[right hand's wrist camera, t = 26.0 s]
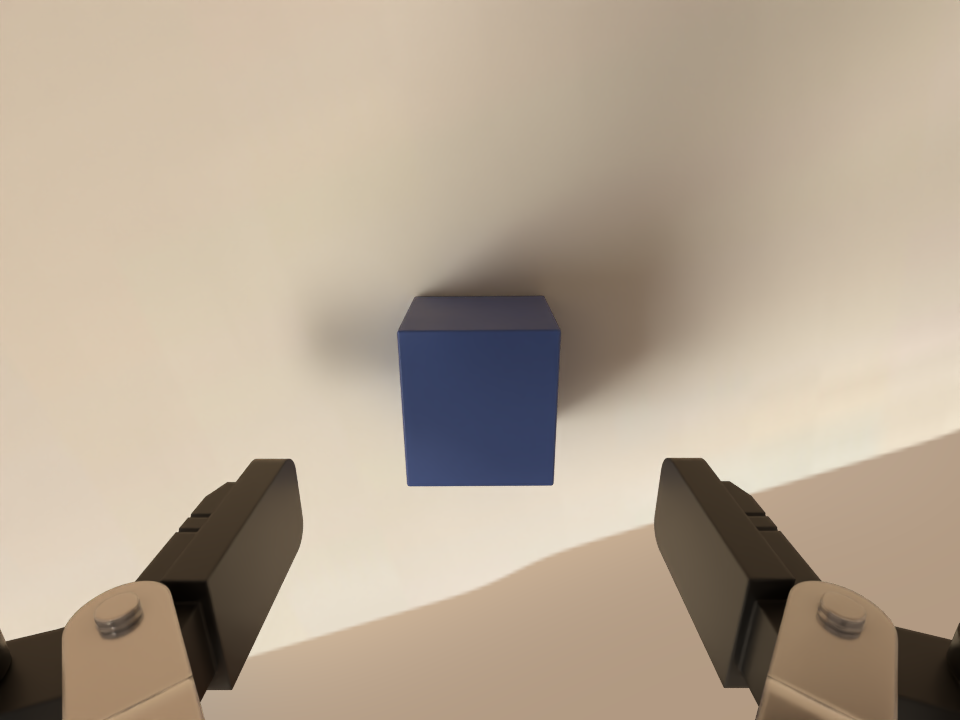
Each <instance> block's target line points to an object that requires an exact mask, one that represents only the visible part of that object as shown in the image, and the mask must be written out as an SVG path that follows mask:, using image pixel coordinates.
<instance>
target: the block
mask: <svg viewBox="0 0 960 720" xmlns="http://www.w3.org/2000/svg"><path fill="white" fill-rule="evenodd" d="M397 338H398V353H399V368H400V384H401V399H402V414H403V429H404V444H405V459H406V474H407V485H408V486H542V485H553V483H554V463H555V443H556V423H557V403H558V383H559V362H560V342H561V330H560V328H559V326H558V324H557V322H556V320H555V318H554V316H553V314H552V312H551V310H550V308H549V306H548V304H547V301H546V299H545V297H544V296H457V297H415V298H414V300H413V302H412V304H411V306H410V308H409V310H408V312H407V314H406V316H405V318H404V320H403V322H402V324H401V326H400V328H399V330H398V332H397Z"/></svg>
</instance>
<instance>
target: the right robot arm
mask: <svg viewBox="0 0 960 720" xmlns="http://www.w3.org/2000/svg"><path fill="white" fill-rule="evenodd" d="M654 529H655V537H656V541H657V545H658V548H659V550H660V552H661V554H662V556H663V558H664V561H665V563H666V565H667V567H668V569H669V571H670V573H671V576H672V578H673V580H674V582H675V584H676V586H677V588H678V590H679V593H680V595H681V597H682V599H683V601H684V603H685V605H686V607H687V610H688V612H689V614H690V616H691V618H692V620H693V622H694V625H695V627H696V629H697V631H698V633H699V635H700V638H701V640H702V642H703V644H704V646H705V648H706V650H707V652H708V655H709V657H710V659H711V661H712V663H713V665H714V667H715V670H716V672H717V674H718V676H719V678H720V680H721V682H722V684H723V687H724V688H749V689H750V691H751V692H752V694H753V696H754V698H755V700H756V702H757V704H758V706H759V708H758V711H757V715H756V719H755V720H960V623H959V625H958V627H957V630H956V632H955V635H954V637H953V639H952V640H950V639H945V638H941V637H937V636H933V635H929V634H924V633H920V632H916V631H911V630H907V629H903V628H899V627H895V626H894V625H893V623H892V621H891V620H890V619H889V617H888V616H887V615H886V614H885V613H884V612H883V611H882V610H881V609H880V608H879V607H878V606H876V605H875V604H874V603H872V602H871V601H870V600H868V599H866V598H865V597H863V596H862V595H860V594H858V593H856V592H854V591H852V590H850V589H847V588H845V587H842V586H839V585H836V584H832V583H828V582H822V581H821V580H820V579H819V577H818V576H817V575H816V574H815V573H814V571H813V570H812V569H811V568H810V567H809V565H808V564H807V563H806V562H805V560H804V559H803V558H802V557H801V556H800V554H799V553H798V552H797V551H796V550H795V548H794V547H793V546H792V545H791V543H790V542H789V541H788V540H787V539H786V537H785V536H784V535H783V534H782V533H781V531H778V530H777V527H776V525H775V524H774V523H773V522H772V520H771V519H770V518H769V517H768V516H766V515H765V512H764V511H763V509H762V508H761V507H760V506H759V505H758V503H757V502H756V501H755V500H754V499H753V497H752V496H751V495H749V494H748V493H746V492H745V491H743V490H742V489H740V488H739V487H737V486H736V485H734V484H733V483H731V482H730V481H720V479H719V478H718V477H717V475H716V474H715V473H714V472H713V470H712V469H711V468H710V466H709V465H708V464H707V462H706V461H705V460H704V459H702V458H666V459H665V460H664V462H663V464H662V468H661V475H660V482H659V489H658V496H657V503H656V510H655V518H654ZM302 533H303V516H302V509H301V502H300V495H299V488H298V481H297V474H296V468H295V464H294V462H293V461H292V460H291V459H254V460H253V461H252V462H251V463H250V464H249V466H248V467H247V468H246V470H245V471H244V472H243V474H242V475H241V476H240V477H239V479H238V480H237V481H236V482H227V483H226V484H224V485H223V486H221V487H220V488H218V489H217V490H215V491H214V492H212V493H211V494H209V495H208V496H206V497H205V498H204V499H203V500H202V502H201V503H200V504H199V505H198V506H197V508H196V509H195V510H194V511H193V512H192V514H191V518H187V520H186V521H185V522H184V523H183V524H182V526H181V527H180V528H179V532H176V533H175V534H174V535H173V536H172V538H171V539H170V540H169V541H168V542H167V544H166V545H165V546H164V547H163V548H162V550H161V551H160V552H159V553H158V555H157V556H156V557H155V558H154V559H153V561H152V562H151V563H150V564H149V565H148V567H147V568H146V569H145V570H144V571H143V573H142V574H141V575H140V576H139V577H138V579H137V580H136V581H135V582H132V583H128V584H124V585H121V586H118V587H115V588H113V589H110V590H108V591H106V592H104V593H102V594H100V595H98V596H97V597H95V598H94V599H92V600H90V601H89V602H88V603H86V604H85V605H84V606H82V607H81V608H80V609H79V610H78V611H77V612H76V613H75V614H74V615H73V616H72V617H71V619H70V620H69V621H68V623H67V624H66V626H65V627H64V628H60V629H56V630H52V631H48V632H44V633H39V634H35V635H31V636H27V637H23V638H18V639H14V640H10V641H6V642H5V639H4V637H3V635H2V632H1V630H0V720H205V719H204V715H203V711H202V708H201V704H200V702H201V700H202V698H203V696H204V694H205V692H206V690H232V689H233V687H234V685H235V682H236V680H237V678H238V676H239V674H240V672H241V670H242V668H243V666H244V663H245V661H246V659H247V657H248V655H249V653H250V651H251V649H252V647H253V644H254V642H255V640H256V638H257V636H258V634H259V632H260V630H261V628H262V625H263V623H264V621H265V619H266V617H267V615H268V613H269V611H270V609H271V606H272V604H273V602H274V600H275V598H276V596H277V594H278V592H279V590H280V587H281V585H282V583H283V581H284V579H285V577H286V575H287V573H288V571H289V568H290V566H291V564H292V562H293V560H294V558H295V556H296V554H297V552H298V549H299V547H300V544H301V539H302Z"/></svg>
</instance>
